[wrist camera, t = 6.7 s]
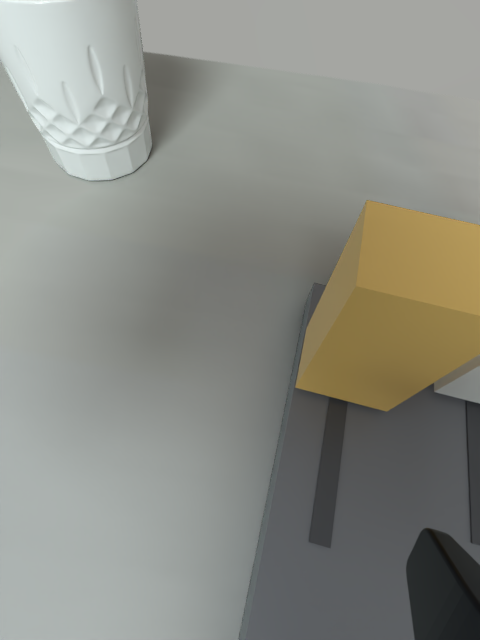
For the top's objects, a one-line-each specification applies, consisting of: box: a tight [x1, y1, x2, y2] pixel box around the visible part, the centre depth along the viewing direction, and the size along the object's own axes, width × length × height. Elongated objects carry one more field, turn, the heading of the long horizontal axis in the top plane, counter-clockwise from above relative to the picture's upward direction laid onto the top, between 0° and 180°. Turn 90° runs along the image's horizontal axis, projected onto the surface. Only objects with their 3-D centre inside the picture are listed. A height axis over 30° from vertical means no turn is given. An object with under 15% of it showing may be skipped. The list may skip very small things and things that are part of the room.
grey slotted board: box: [239, 283, 480, 640], centre depth 16 cm, size 16×12×2 cm
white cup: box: [0, 0, 152, 181], centre depth 22 cm, size 8×8×10 cm
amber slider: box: [295, 200, 480, 412], centre depth 13 cm, size 3×4×8 cm
